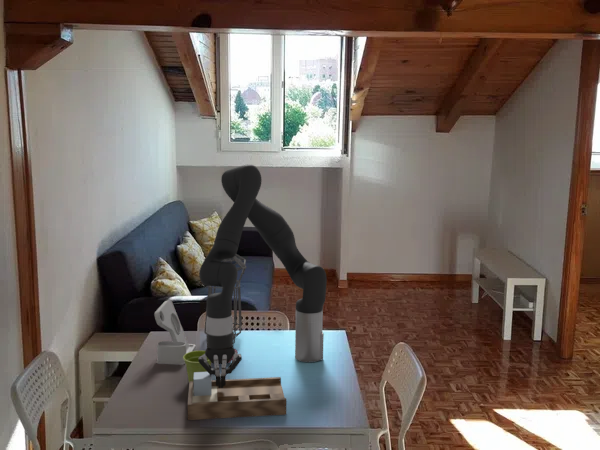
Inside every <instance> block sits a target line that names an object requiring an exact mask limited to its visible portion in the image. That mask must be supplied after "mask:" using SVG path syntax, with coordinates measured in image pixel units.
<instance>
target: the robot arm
mask: <svg viewBox="0 0 600 450" xmlns="http://www.w3.org/2000/svg"><path fill="white" fill-rule="evenodd" d="M220 180H221V181H220V182H221V186H222V188H223V190H224V191H225V194H226V195H227V196H228V198H229V199H230V200H231V201H232V202H233V204H232V206H231V207H230V209H229V210H228V211H227V213H226V214H225V216H224V217H223V219H222V220H221V222H220V224H219V225H218V227H217V228H218V229H217V231H216V235H215V238H214V242H213V245H212V247H211V249H210V251H209V253H207V255H206V257H205V258H206V259H205V258H204V259H205V260H204V259H203V260H204V261H202V264H201V265H200V269H199V272H198V273H199V275H198V277H199V281H200V283H202V285H204V286H207V287H208V286H211V287H214V286H216V287H222V288H221V292H215V293H214V292H213V293H212V294H211V295H209V296H208V295H207V297H206V308H207V320H206V334H205V335H206V336H205V337H206V349H205V350H204V351H205V354H204V355H202V356H199V359H198V360H199V363H200V364H201V365H202V366H203V367H204V369H205V370H206V371H207V372H208V373H209V374H210V375H211V376H215V380H216V386H218V388H223V386H225V385H226V380H227V379H226V378H227V375H228V374H232V373H233V372H234V371H235V369H236V367H237V366H238V365H239V364H240V362H241V361H242V359H243V358H242V357H243V356H242V354H241V353H238V354H237V353H236V352H235V349H236V348H234V344H233V342H234V341H233V331H234V329H233V326H234V324H233V323H234V320H233V315H232V314H233V311H232V309H233V308H232V306H233V305H232V302H233V301H232V300H233V297H234V287H236V280H238V275H239V274H238V271H237V268H238V267H237V266H236V265H234V264H235V263H233V262H232V263H231V262H230V261H226V262H225V261H224V262H223V261H222V260H225V259H226V260H229V258H231V259H233V257H234V256H236V254H237V253H238V250H239V244H240V241H241V238H242V234H243V230H244V227H245V224H246V221H247V220H249V222H250V223H251V224H252V225H253V227H255V229H256V231H257V232H258V233H259V235H260V237H261V238H262V240H263V241H264V242H265V244H267V246H268V247H269V248H270V249H271V251H272V252H273V253H274V255H275V256H276V257H277V259H279V261H280V263H281V264H282V265H283V267H284V268H285V270H286V272H287V273H288V275H289V277H290V279H291V281H292V283H294V285H295V286H296V287H298V288H299V289H302V298H300V299H297V300H296V302H295V333H294V334H295V341H294V342H295V343H294V345H295V347H294V348H295V349H294V357H295V359H296V360H297V361H299V362H302V363H315V362H319V361H324V335H325V334H324V332H323V318H324V317H323V315H324V314H323V312H324V310H323V309H324V305H325V303H326V302H325V301H326V297H327V296H326V295H327V279H328V278H327V273H326V270H325V269H324V268H323V267H322V266H321V265H318V264H315V263H312V262H310V261H308V260H307V258H305V257H304V256H303V254H302V253H301V252H300V250H299V249H298V247H297V244H296V238H295V234H294V231H293V230H292V228H291V226H290V225H289V224H288V222H287V221H286V219H285V218H284V217H283V216H282V215H281V214H280V213H279V212H277V211H276V210H275V209H272V208H271V207H269V206H268V205H266V204H264V203H263V202H261V201H260V200H258V199H257V196H258V194H259V193H260V190H261V187H262V181H263V180H262V175H261V171H260V170H259V169H258V167H257V166H256V165H254V164H243V165H240V166H236V167H233V168H230V169H227V170H226V171H224V172H223V173H222V174H221V179H220ZM233 356H234V357H233ZM232 357H233V361H231V362H230V363H228V362H229V361H230V359H231V358H232ZM207 358H208V359H209V360H210V361H211V362H212V364H213V365H214V368H213V367H212V365H211V366H210V365H209V363H208V362H207ZM227 364H229V365H228V366H227ZM220 365H221V369H220Z"/></svg>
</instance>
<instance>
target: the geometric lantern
mask: <svg viewBox="0 0 600 450" xmlns="http://www.w3.org/2000/svg"><path fill="white" fill-rule="evenodd" d="M205 259H206V257H205V258H204V259H203V260H205ZM246 260H247V259H245V258H244V257H243V256H240V255H239V254H237V253H236V255H235V256H234V257H233V258H229V259H225V260H222V261H221V262H230V263H233V262H235V263H233V264H234V265H235V266H236V265H238V266H239V267H236V268H237V272H238V271H240V270H241V273H240V276H239V279H237V280H236V283H235V287H234V291H233V345H234V344H235V342H236V338H237V337H238V336H239V335H240V334H241V333H242V324H243V323H242V322H243V319H242V299H241V297H242V296H241V280H242V278H243V275H245V271H246V269H247V268H248V267H247V265H246V263H247V261H246ZM207 287H208V288H207V297H208V296H209V295H211V294H214V293H216V289H222V287H217V286H207ZM237 316H238V317H237ZM237 318H238V322H237ZM206 320H207V307H206V310H205V321H204V335H206ZM236 325H238V327H236ZM238 329H239V330H238ZM237 330H238V331H239V332H237Z"/></svg>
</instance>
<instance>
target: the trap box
mask: <svg viewBox="0 0 600 450" xmlns="http://www.w3.org/2000/svg"><path fill="white" fill-rule="evenodd" d="M188 383H189V384H188V395H187V420H188V421H194V420H195V421H196V420H198V421H199V420H213V419H230V418H231V419H232V418H248V417H267V416H268V417H269V416H285V415H287V397H285V393H284V389H283V386H282V377H281V376H274V377H272V376H271V377H252V378H235V379H234V378H233V379H230V378H229V379H226V385H225V386H223V388H218V386H216V379H213V380H212V379H211V384H212V395H205V396H194V381H190V382H189V381H188Z"/></svg>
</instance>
